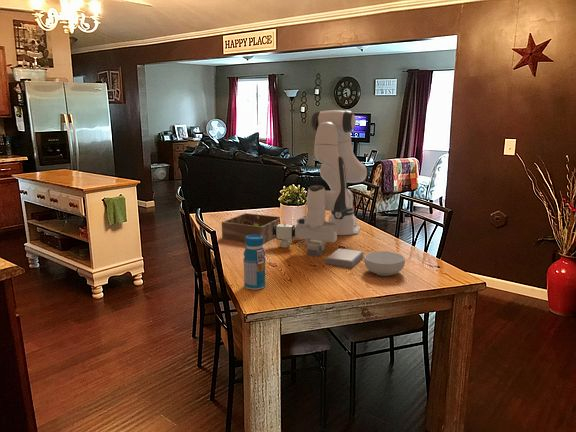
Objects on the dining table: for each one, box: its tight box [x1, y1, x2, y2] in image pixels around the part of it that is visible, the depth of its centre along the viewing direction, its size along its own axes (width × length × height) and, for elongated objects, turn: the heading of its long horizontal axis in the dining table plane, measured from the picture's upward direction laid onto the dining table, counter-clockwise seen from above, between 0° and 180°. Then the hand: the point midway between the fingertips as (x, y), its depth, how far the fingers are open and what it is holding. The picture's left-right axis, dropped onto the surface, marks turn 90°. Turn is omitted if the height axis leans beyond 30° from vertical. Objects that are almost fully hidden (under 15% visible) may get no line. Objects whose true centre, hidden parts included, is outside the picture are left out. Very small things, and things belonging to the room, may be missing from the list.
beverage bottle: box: [242, 235, 266, 291], centre depth 181 cm, size 8×8×20 cm
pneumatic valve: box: [273, 222, 296, 249], centre depth 234 cm, size 6×12×12 cm, turn 79°
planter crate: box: [221, 212, 281, 245], centre depth 254 cm, size 24×24×9 cm
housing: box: [306, 240, 325, 257], centre depth 224 cm, size 8×5×6 cm, turn 154°
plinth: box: [325, 248, 364, 269], centre depth 214 cm, size 16×12×3 cm
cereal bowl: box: [363, 250, 406, 277], centre depth 198 cm, size 17×17×7 cm
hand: (315, 248), depth 224 cm, fingers closed on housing, 5 cm apart
